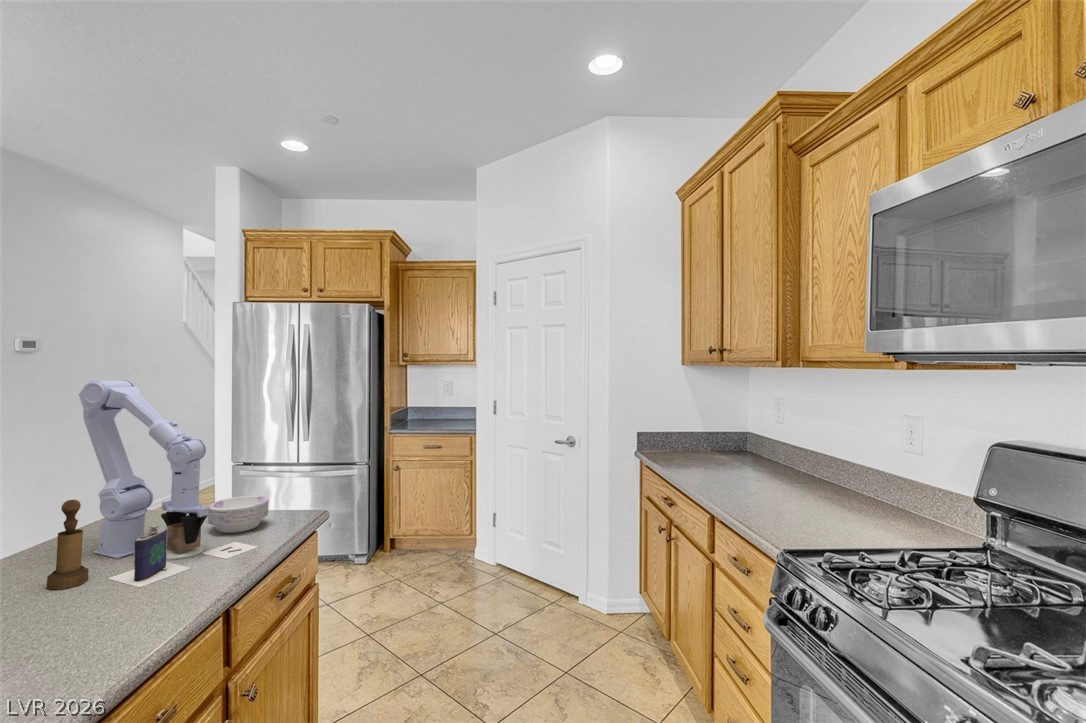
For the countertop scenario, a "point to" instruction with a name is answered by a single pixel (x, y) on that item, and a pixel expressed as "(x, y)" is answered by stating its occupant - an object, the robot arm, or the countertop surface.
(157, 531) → the flask
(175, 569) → the code tile
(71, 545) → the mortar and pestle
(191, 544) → the walnut block
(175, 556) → the plate
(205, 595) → the countertop surface
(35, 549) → the countertop surface
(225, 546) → the code tile
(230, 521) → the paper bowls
